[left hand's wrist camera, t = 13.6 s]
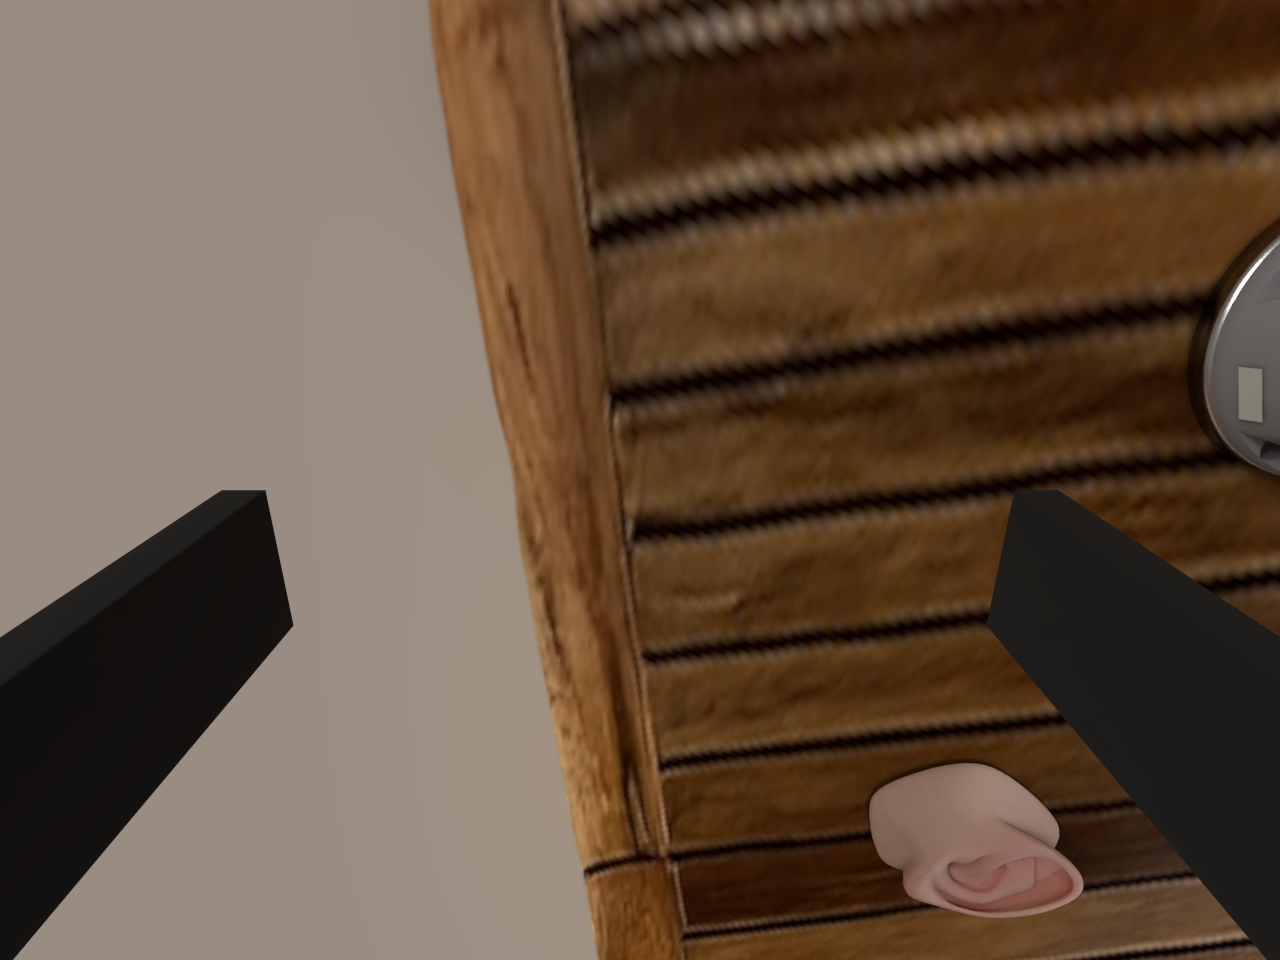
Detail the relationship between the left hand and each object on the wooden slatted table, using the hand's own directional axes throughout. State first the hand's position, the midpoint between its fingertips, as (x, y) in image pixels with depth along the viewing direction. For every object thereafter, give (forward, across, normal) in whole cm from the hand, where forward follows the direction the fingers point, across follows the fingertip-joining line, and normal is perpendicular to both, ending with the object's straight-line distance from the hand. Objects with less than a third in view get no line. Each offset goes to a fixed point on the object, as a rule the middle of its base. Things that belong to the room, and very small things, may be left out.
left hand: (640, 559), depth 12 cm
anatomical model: (+26, +22, -35) cm, 49 cm away
